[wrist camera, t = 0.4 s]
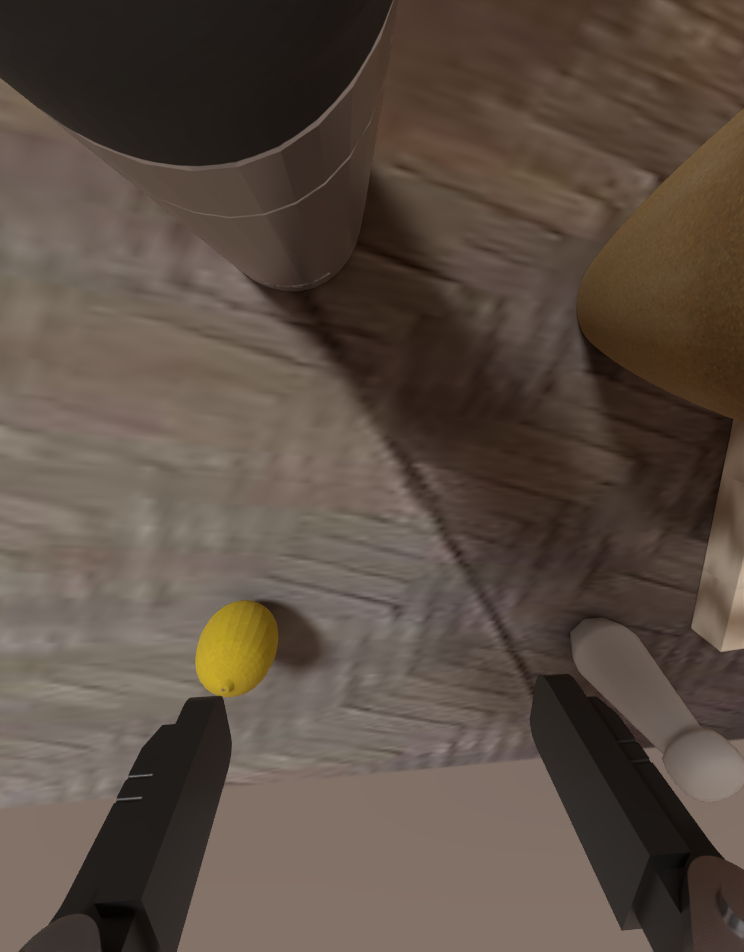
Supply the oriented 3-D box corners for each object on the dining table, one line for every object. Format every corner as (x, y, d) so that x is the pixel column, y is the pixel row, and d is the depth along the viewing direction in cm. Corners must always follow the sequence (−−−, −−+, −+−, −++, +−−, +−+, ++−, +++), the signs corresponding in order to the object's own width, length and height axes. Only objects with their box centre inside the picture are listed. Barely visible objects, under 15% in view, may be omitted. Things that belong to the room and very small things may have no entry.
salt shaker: (602, 597, 34) (751, 737, 22) (630, 634, 36) (783, 784, 23) (548, 634, 35) (662, 788, 23) (579, 669, 36) (700, 830, 24)
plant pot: (731, 133, 23) (1447, -265, 8) (726, 371, 28) (1172, 394, 13) (501, 206, 24) (787, -51, 9) (535, 429, 28) (756, 518, 13)
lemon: (298, 604, 32) (285, 684, 24) (258, 646, 33) (233, 735, 25) (243, 568, 30) (211, 641, 23) (203, 613, 31) (159, 697, 24)
